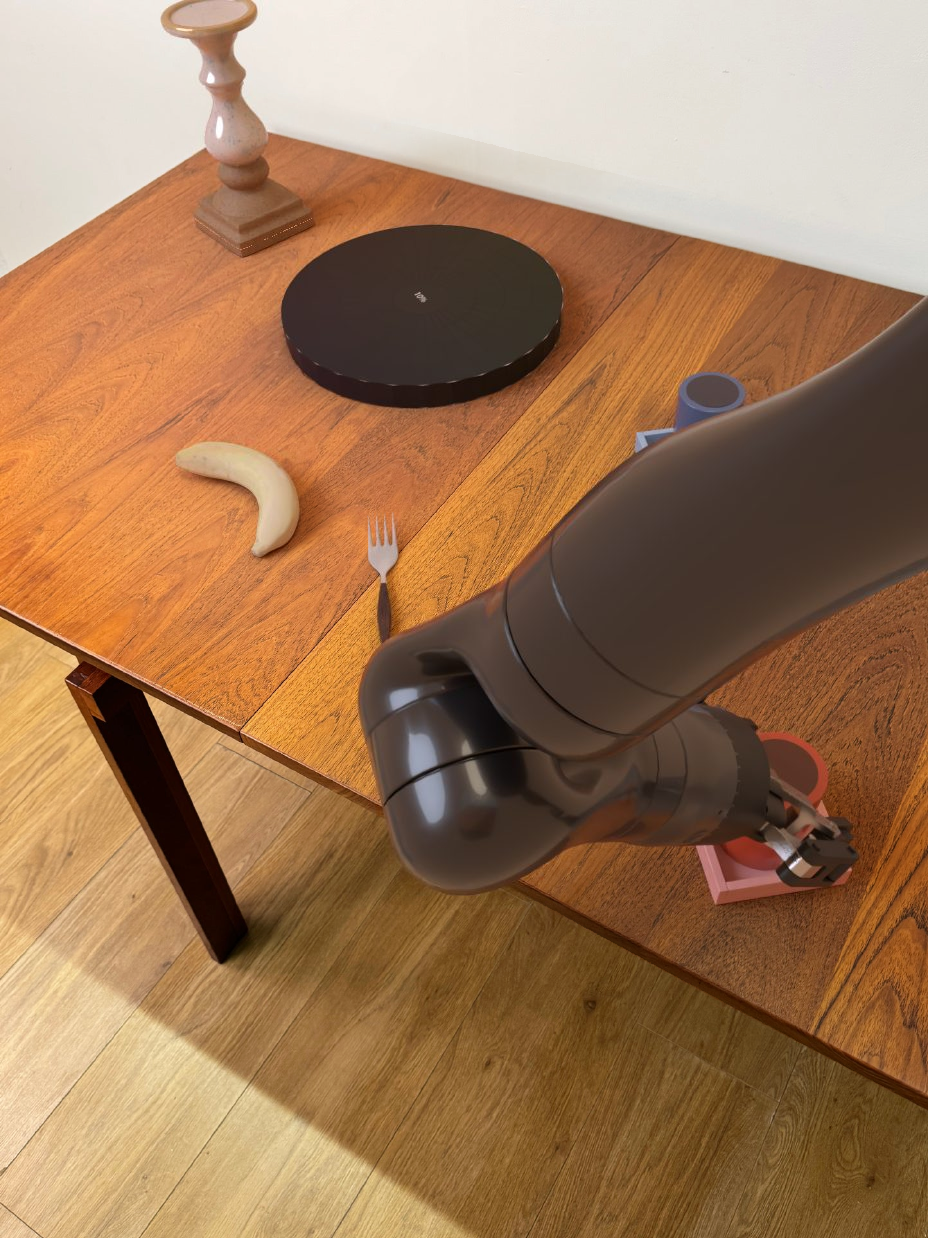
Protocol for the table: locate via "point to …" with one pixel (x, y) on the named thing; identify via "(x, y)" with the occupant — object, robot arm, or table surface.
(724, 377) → the blue pot
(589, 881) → the table surface
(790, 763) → the red spoon pot
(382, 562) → the fork
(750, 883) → the pink tray
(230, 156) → the candle holder
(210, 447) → the fruit
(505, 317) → the disc
